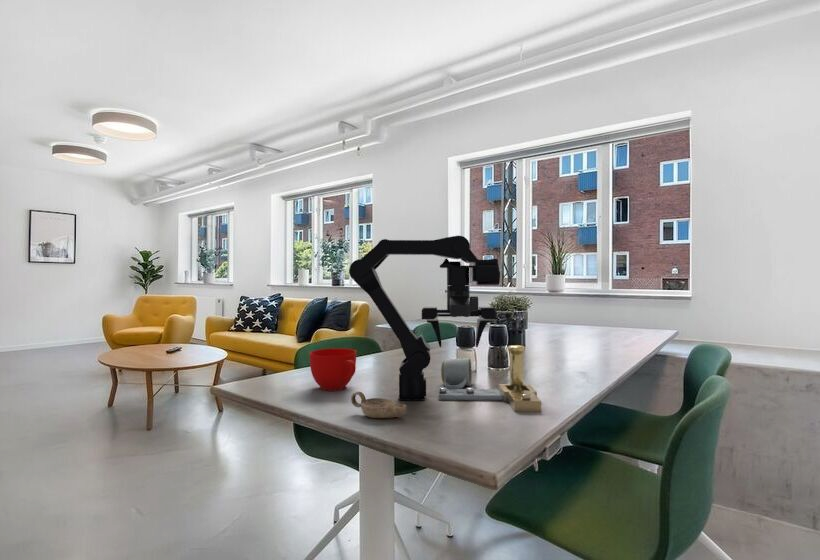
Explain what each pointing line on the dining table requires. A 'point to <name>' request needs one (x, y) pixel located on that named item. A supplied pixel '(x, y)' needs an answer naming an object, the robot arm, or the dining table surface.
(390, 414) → the oil lamp
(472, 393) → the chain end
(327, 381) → the ceramic cup
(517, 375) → the pin
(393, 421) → the dining table surface
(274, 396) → the dining table surface
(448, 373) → the ceramic mug
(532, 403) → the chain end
